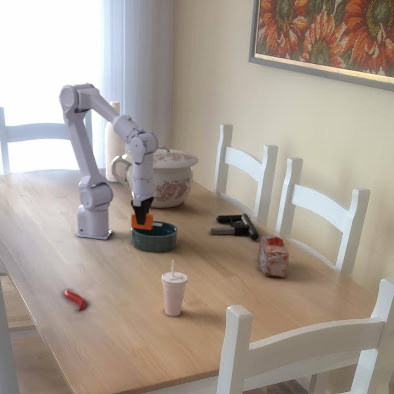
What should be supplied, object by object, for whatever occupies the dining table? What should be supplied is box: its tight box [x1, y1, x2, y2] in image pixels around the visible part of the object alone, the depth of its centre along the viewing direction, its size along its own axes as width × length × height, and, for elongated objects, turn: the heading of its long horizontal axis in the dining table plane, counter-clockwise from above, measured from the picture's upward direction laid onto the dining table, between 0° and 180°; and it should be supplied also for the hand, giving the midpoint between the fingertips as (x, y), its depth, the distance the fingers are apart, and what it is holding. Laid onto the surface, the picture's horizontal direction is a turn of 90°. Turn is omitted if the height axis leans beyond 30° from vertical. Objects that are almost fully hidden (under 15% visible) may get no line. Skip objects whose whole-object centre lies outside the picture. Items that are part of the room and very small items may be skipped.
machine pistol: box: [210, 212, 260, 241], centre depth 194 cm, size 3×20×16 cm
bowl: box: [130, 220, 179, 253], centre depth 179 cm, size 14×14×5 cm
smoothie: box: [160, 259, 189, 317], centre depth 139 cm, size 6×6×14 cm
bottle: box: [104, 100, 126, 183], centre depth 229 cm, size 8×8×30 cm
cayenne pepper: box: [64, 288, 87, 312], centre depth 144 cm, size 12×5×2 cm, turn 18°
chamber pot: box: [111, 145, 199, 209], centre depth 210 cm, size 28×28×21 cm
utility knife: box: [130, 211, 162, 230], centre depth 171 cm, size 9×3×4 cm, turn 81°
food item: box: [257, 234, 290, 278], centre depth 167 cm, size 14×8×10 cm, turn 5°
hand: (142, 222), depth 172 cm, fingers closed on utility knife, 3 cm apart
